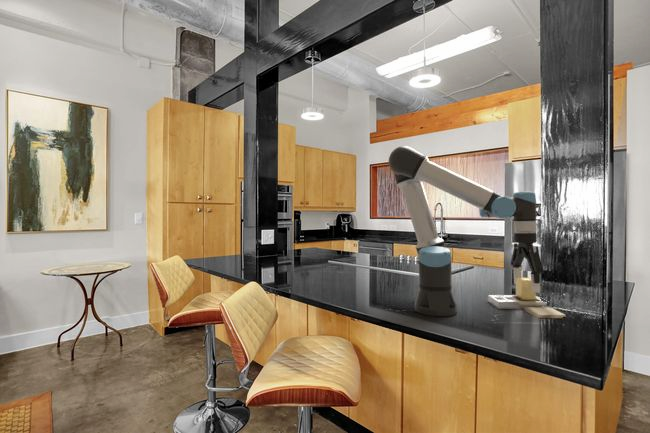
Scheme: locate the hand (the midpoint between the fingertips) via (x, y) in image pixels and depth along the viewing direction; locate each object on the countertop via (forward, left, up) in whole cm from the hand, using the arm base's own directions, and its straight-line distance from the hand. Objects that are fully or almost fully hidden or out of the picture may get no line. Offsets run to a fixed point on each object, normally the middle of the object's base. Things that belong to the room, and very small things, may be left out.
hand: (526, 287), depth 129 cm
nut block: (0, 0, -7) cm, 7 cm away
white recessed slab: (-3, 0, -7) cm, 8 cm away
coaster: (+1, -11, -7) cm, 13 cm away
